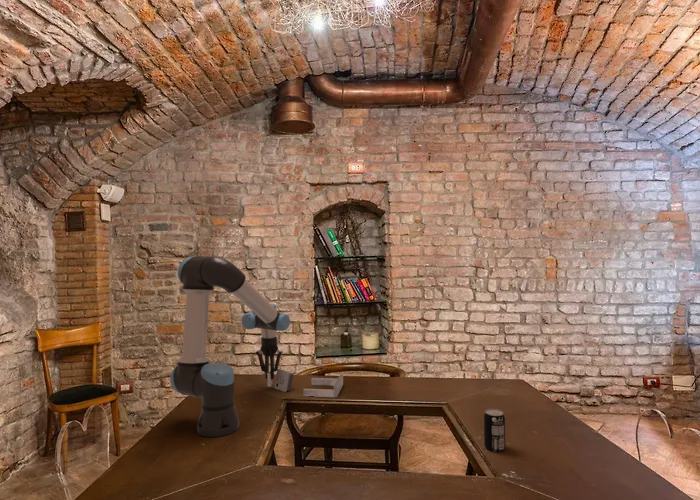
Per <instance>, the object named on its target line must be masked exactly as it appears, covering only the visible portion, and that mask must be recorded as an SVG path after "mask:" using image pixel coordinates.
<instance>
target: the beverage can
mask: <svg viewBox="0 0 700 500" xmlns="http://www.w3.org/2000/svg"><path fill="white" fill-rule="evenodd" d="M505 419H506V418H505V415H504V411H502V410H501V409H496V408H488V409H485V411H484V414H483V436H484V437H483V438H484V439H483V440H484V441H483V443H484V447H485V448H486V449H487V450H488V451H490V452H495V453H498V452H503V451H504V450H505V449H506V420H505Z"/></svg>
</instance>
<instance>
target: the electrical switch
mask: <svg viewBox="0 0 700 500" xmlns="http://www.w3.org/2000/svg"><path fill="white" fill-rule="evenodd" d="M275 373H276V374H275V377H274V384H273V389H275V390H277V391H281V392H283V393H287V391H291V390H292V383H293V379H294V375H295V374H294V373H292V372H291V371H288V370H285V369H282V368H278V370H277V371H276V372H275Z"/></svg>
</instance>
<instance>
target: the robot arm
mask: <svg viewBox="0 0 700 500" xmlns="http://www.w3.org/2000/svg"><path fill="white" fill-rule="evenodd" d="M177 278H178V280H179V282H180V283H181V284H182V291H183V292H184V293H185V294H186V299H185V311H184V328H183V339H182V340H183V342H182V343H183V344H182V354H181V355H182V356H181V357H179V358H178V360H177V364H176V365H175V366H174V367H173V369H172V370H171V373H170V377H169V379H170V385H171V387H172V388H173V389H172V390H174V391H175V392H176V393H179V394H181V395H183V396H190V397H194V398H197V399H201V411H200V414H199V417H198V421H197V424H196V432H197V434H198V435H199V436H202V437H206V438H207V437H209V438H214V437H223V436H227V435H230V434H232V433H234V432H236V431H237V430H238V429H239V428H240V419H239V416H238V412H237V411H236V408H235V375H234V369H233V367H232V366H230V365H229V364H227V363H223V362H219V363H217V362H210V359H209V357H208V356H207V355H206V354H207V353H206V352H207V338H208V321H209V320H208V319H209V305H210V295H211V294H212V293H213V292H214V289H215V288H214V287H216V288H217V287H218V288H220V289H223V290H224V291H225V292H227V293H229V294H232V295H233V296H235V297H236V298H237V299H238V300H239V301H240V302H241V303H242V304H243V305H245V306H246V307H247V309H249V310H250V311H249V312H246V313H244V314H242V317H241V325H242V327H243V328H244V329H246V330H254V329H260V334H261V335H260V336H261V338H260V339H261V340H260V341H261V342H260V343H261V344H260V345H261V346H260V348H259V349H258V350H257V351H256V352H255V354H256V355H257V358H258V362H259V365H260V370H261V371H262V372H264V373H265V380H267V387H272V386H273V380H275V373H276V372H277V370H278V369H279V366H280V361H281V356H282V354H283V353H284V351H283V350H280V349H279V347H278V337H277V336H278V332H280V331H283V332H284V331H286V330H288V329H289V327H290V324H291V318H290V316H289V314H287V313H284V312H280V311H279V310H278V309H277V305H276V304H274V303H270V302H269V301H268V299H266V298H265V297H264V296H263V295H262V294H261V293H260V292H259V291H258V290H257V289H256V288H255V287H254V286H253V285H252V284H251V282H249V281H248V280H247V277H246V274H245V273H244V272H243V271H241V269H240V268H239V267H237V265H235V264H234V263H232V262H231V261H229V260H227V259H226V258H223V257H220V256H216V255H212V256H209V255H207V256H205V255H204V256H202V255H201V256H199V255H195V256H189V257H187V258H185V259H184V260H182V261H181V262H180V264H179V266H178V269H177ZM275 354H277V355H276V359H275ZM263 356H264V357H263Z"/></svg>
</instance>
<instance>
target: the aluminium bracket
mask: <svg viewBox="0 0 700 500" xmlns="http://www.w3.org/2000/svg"><path fill="white" fill-rule="evenodd" d="M311 385H312V386H331V387H332V386H333V389H331V388H330V389H328V388H327V389H326V388H325V389H324V388H303V390H302V392H303V395H302V397H309V396H314V398H315V397H317V398H338V397H339V394H340V392H341V390H342V388H343V386H344V374H339V376H338V377H337V378H333V377H331V378H330V377H329V378H327V377H326V378H325V377H312V378H311Z"/></svg>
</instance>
